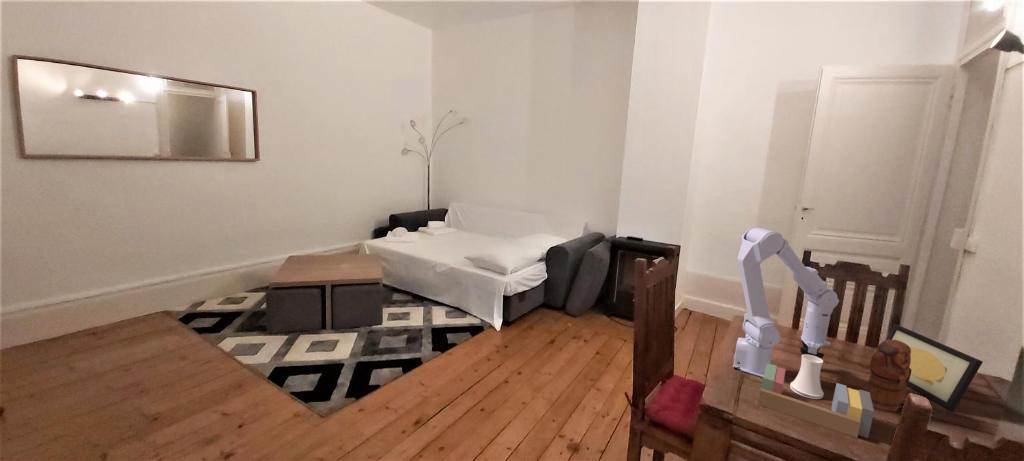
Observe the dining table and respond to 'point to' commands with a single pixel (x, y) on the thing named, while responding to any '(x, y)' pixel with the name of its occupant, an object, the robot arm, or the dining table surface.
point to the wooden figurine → (889, 375)
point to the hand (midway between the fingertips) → (808, 366)
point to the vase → (809, 378)
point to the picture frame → (936, 368)
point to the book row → (847, 408)
